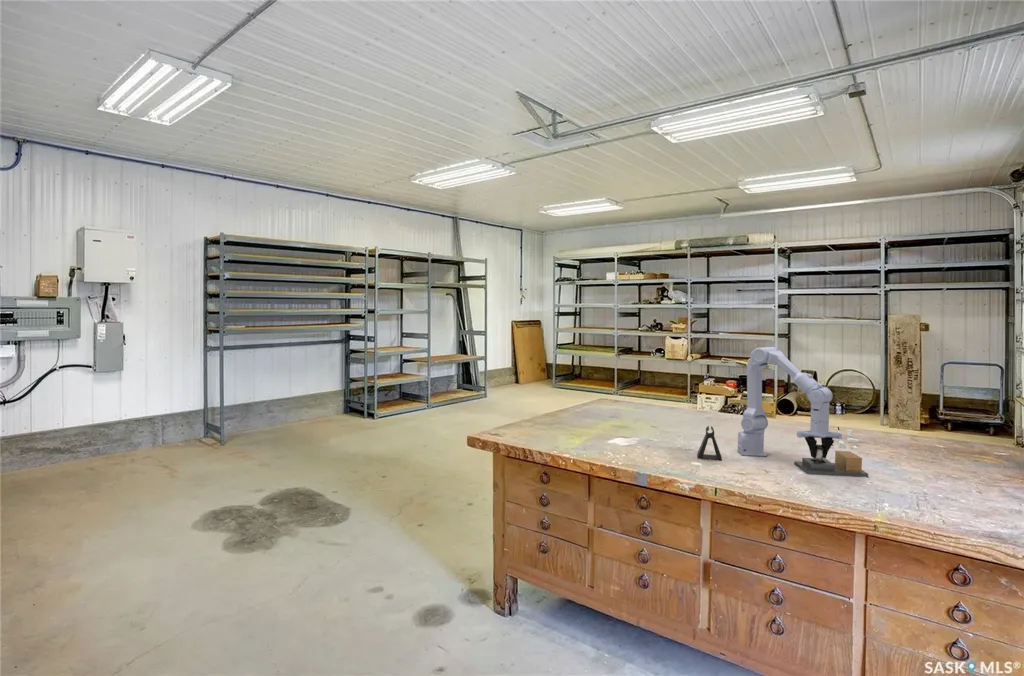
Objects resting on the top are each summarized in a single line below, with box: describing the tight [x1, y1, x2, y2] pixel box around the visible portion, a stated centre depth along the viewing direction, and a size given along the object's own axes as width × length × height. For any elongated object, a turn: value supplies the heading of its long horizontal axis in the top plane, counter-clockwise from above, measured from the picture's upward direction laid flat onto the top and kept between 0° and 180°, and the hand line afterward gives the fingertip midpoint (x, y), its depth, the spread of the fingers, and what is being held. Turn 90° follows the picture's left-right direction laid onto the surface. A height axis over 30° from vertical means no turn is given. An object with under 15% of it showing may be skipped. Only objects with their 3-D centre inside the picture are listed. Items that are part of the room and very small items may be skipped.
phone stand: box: [696, 425, 723, 461], centre depth 207 cm, size 9×6×12 cm, turn 71°
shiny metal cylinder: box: [814, 443, 824, 463], centre depth 191 cm, size 3×3×7 cm
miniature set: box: [828, 423, 860, 449], centre depth 235 cm, size 6×35×12 cm
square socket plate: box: [793, 450, 869, 478], centre depth 191 cm, size 20×12×6 cm, turn 81°
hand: (818, 457), depth 192 cm, fingers closed on shiny metal cylinder, 3 cm apart
